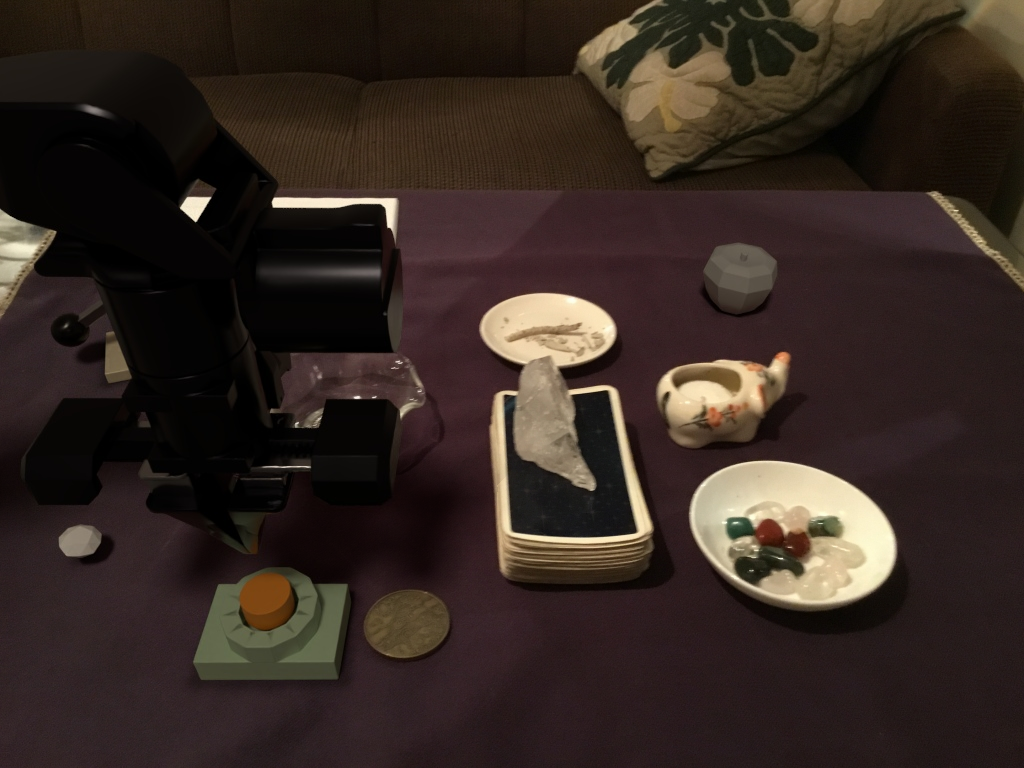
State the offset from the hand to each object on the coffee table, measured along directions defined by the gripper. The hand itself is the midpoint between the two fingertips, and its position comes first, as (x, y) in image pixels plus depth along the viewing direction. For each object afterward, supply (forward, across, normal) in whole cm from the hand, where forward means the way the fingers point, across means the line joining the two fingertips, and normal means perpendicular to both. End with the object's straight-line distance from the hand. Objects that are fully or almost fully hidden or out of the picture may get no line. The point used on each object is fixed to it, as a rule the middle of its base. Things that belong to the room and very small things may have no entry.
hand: (253, 547), depth 48 cm
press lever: (+5, +22, -31) cm, 38 cm away
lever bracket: (+10, +19, -32) cm, 38 cm away
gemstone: (+10, +16, -7) cm, 20 cm away
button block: (+10, 0, 0) cm, 10 cm away
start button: (+6, 0, 0) cm, 6 cm away
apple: (+10, -40, -41) cm, 58 cm away
